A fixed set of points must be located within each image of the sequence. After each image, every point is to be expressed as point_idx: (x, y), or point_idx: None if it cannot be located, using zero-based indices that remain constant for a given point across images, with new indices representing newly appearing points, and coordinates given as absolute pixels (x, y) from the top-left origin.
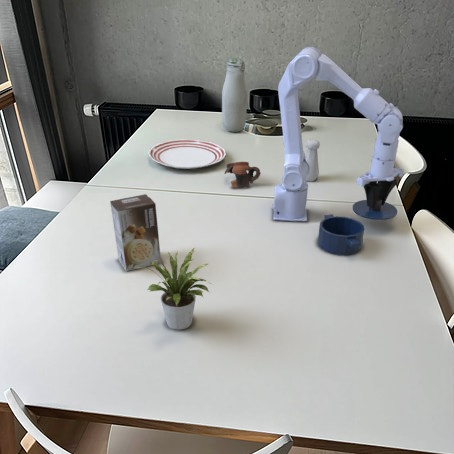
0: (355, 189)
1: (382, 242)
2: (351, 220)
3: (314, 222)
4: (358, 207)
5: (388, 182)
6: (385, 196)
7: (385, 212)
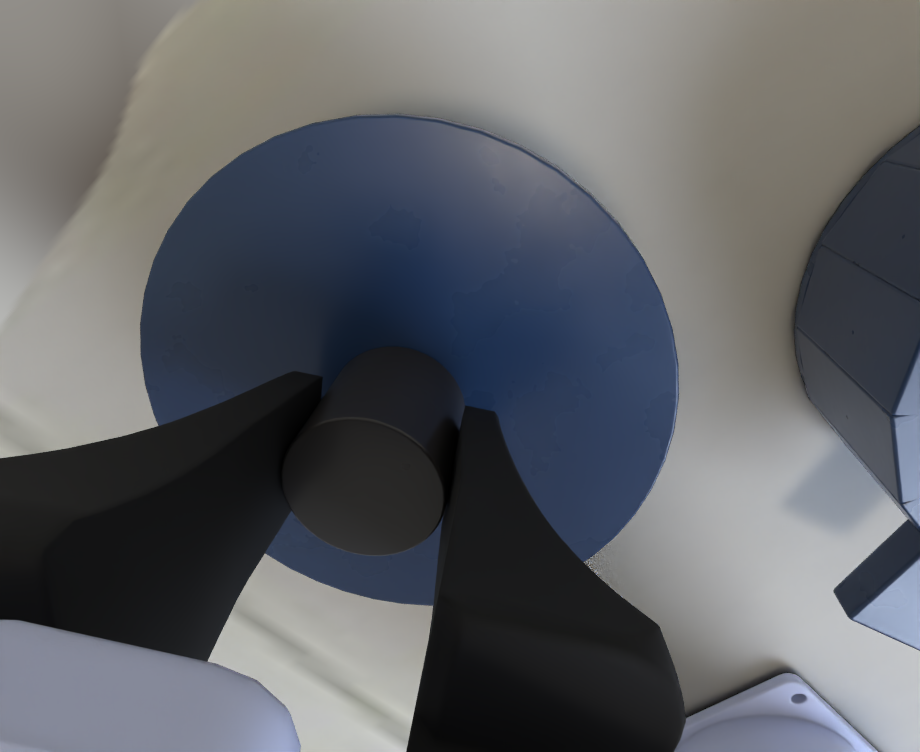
0: None
1: (671, 16)
2: (917, 410)
3: (748, 631)
4: None
5: (79, 629)
6: (255, 426)
7: (376, 262)
